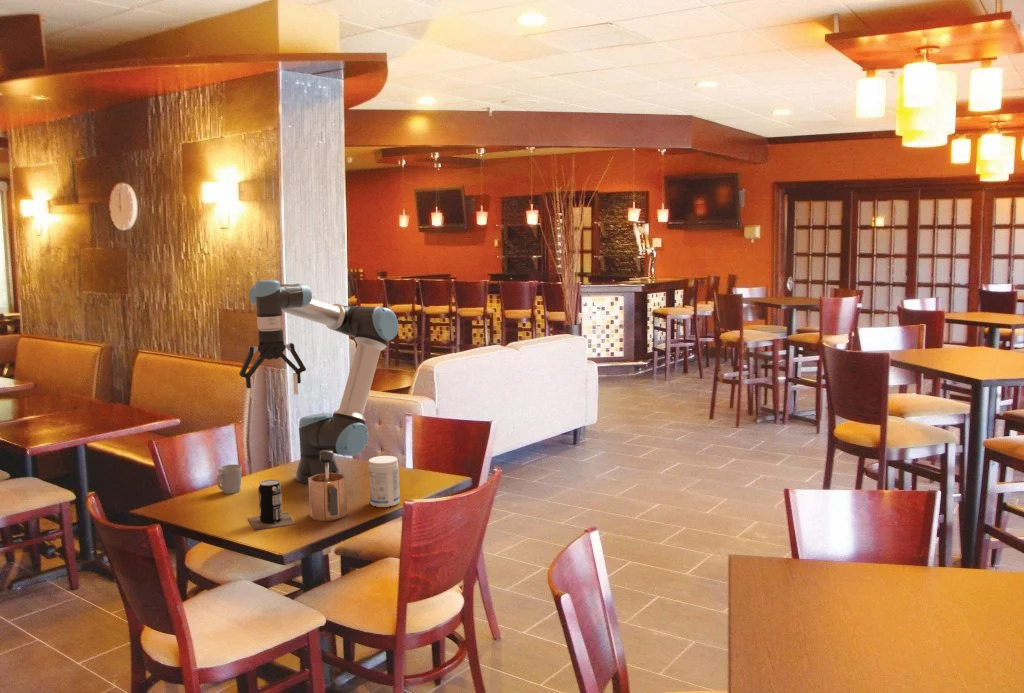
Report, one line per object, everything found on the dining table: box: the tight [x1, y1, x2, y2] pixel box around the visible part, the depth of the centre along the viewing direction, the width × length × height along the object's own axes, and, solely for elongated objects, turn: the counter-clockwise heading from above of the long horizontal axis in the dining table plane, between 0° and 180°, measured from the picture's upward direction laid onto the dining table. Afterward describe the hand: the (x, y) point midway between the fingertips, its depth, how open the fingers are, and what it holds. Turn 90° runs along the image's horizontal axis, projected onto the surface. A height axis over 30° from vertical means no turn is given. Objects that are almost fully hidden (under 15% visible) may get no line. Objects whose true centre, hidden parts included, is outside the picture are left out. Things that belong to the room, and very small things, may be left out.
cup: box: [216, 463, 243, 495], centre depth 285 cm, size 8×10×8 cm
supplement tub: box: [367, 455, 401, 508], centre depth 271 cm, size 10×10×15 cm
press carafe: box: [307, 472, 349, 522], centre depth 258 cm, size 14×11×12 cm
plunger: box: [320, 450, 333, 482], centre depth 259 cm, size 8×8×17 cm
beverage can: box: [258, 479, 283, 524], centre depth 254 cm, size 7×7×12 cm
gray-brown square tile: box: [247, 512, 296, 532], centre depth 255 cm, size 12×12×1 cm
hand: (274, 396), depth 267 cm, fingers open, 13 cm apart
